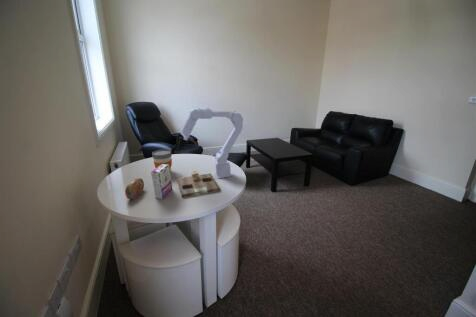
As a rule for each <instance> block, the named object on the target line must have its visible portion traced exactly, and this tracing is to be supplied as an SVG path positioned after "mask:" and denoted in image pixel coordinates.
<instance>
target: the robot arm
mask: <svg viewBox="0 0 476 317" xmlns="http://www.w3.org/2000/svg"><path fill="white" fill-rule="evenodd" d="M213 117H216V118H219V117H222V118H227V119H229V120H230V122H231V123H232V126H233V129H232V131H231V132H230V134H229V135H228V138H227V139H226V140H225V143H224V144H223V146H222V148H220V149H219V151H218V152H216V153H215V155H214V158H215V160H216V162H215V173H214V176H215V177H216V179H223V178H231V177H232V175H231V164H230V162H228V158H229V154H230V151H231V150H232V147H233V146H234V144H235V143H236V141H237V139H238V138H239V135H240V134H241V132H242V130H243V129H244V128H243V124H244V123H243V121H244V117H243V115H242V114H241V113H239V112H237V111H232V110H216V111H215V110H213V109H210V108H208V107H206V108H200V107H198V109H197V108H192V109H191V110H190V111H189V115H188V117H187V118H186V120H185V122H184V124H183V126H182V128H181V129H180V130H178V131H177V137H176V143H175V144H176V145H177V147H176V148H177V149H178V150H182V149H183V148H184V146H185V145H187V144H188V143H189V140H188V139H190V135H191V133H192V131H193V129H194V128H195V126H196V124H197V121H198V120H199V119H200V120H201V119H202V120H204V119H205V120H206V119H208V120H211V119H213Z"/></svg>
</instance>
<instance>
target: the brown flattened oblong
mask: <svg viewBox="0 0 476 317" xmlns="http://www.w3.org/2000/svg"><path fill="white" fill-rule="evenodd" d="M144 188H145V183H144V180H143V178H135V179H133V180H132V181H131V182H130V183H129V184H128V185H127V186H126V187H125V190H124V191H125V196H126V198H127V200H134V199H136V198H137V197H138V196H139V195H140V194H142V192H143V191H144Z"/></svg>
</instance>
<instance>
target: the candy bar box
mask: <svg viewBox="0 0 476 317" xmlns="http://www.w3.org/2000/svg"><path fill="white" fill-rule="evenodd" d="M150 173H151V179H152V185H153V190H154V197H155V199H158V200H159V199H160V200H164V199H165V198H166V197H167V196H168V195H169V194H170V193H171V192H172V191H173V185H172V177H171V173H170V168H169V165H167V164H161V165H160V166H159V167H157V168H155V169H153V170H151V171H150Z"/></svg>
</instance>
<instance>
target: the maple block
mask: <svg viewBox="0 0 476 317" xmlns="http://www.w3.org/2000/svg"><path fill="white" fill-rule="evenodd" d="M199 173H200V172H199V171H198V170H195V171H191V174H190V175H191V176H192V179H193V180H197V179H199V175H200V174H199Z"/></svg>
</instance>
